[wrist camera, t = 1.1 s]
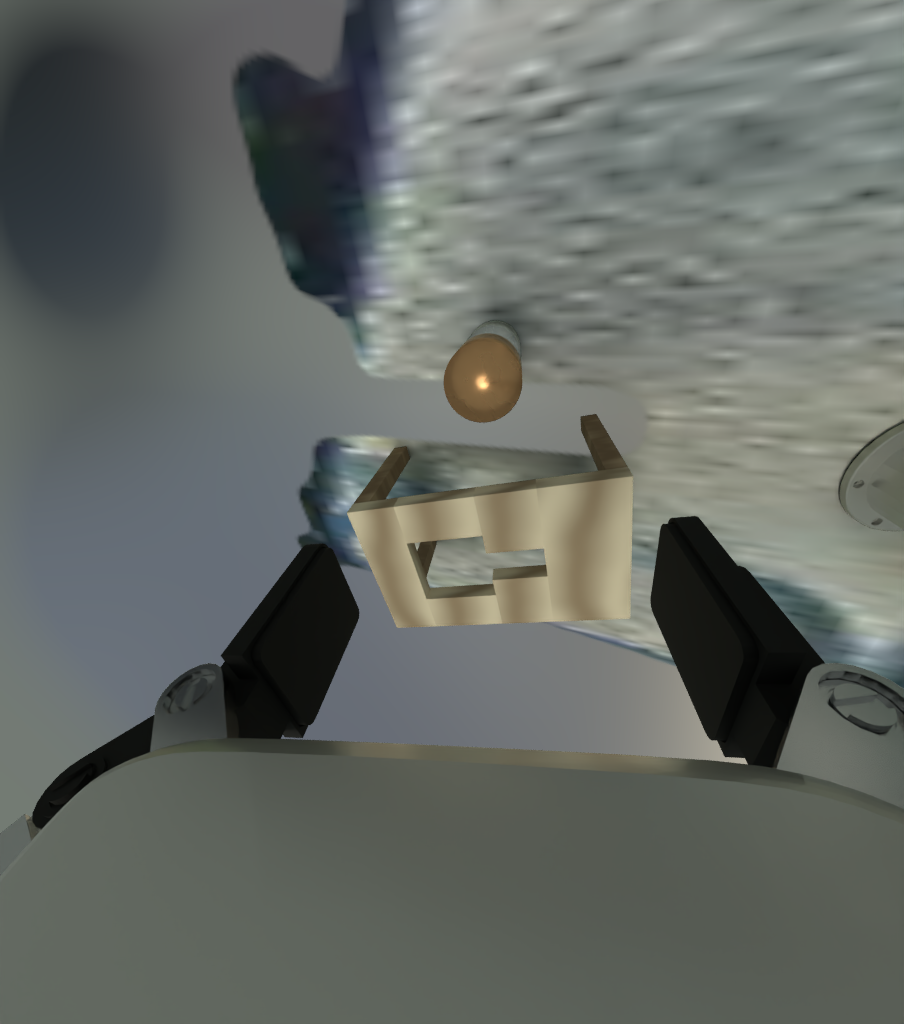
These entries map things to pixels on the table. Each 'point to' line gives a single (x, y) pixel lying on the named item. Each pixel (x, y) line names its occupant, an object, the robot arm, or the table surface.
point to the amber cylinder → (485, 373)
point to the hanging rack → (507, 543)
